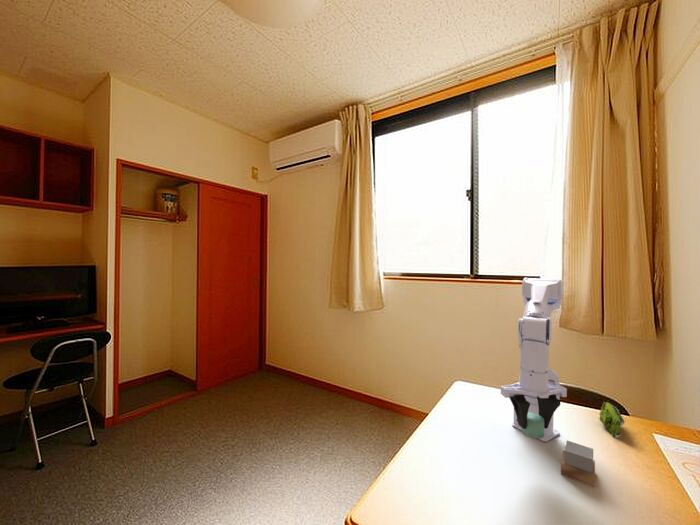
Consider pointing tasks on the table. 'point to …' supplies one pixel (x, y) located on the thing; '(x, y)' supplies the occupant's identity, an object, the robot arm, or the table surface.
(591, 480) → the walnut block
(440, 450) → the table surface
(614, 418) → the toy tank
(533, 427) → the green cylinder
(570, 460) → the gray block
